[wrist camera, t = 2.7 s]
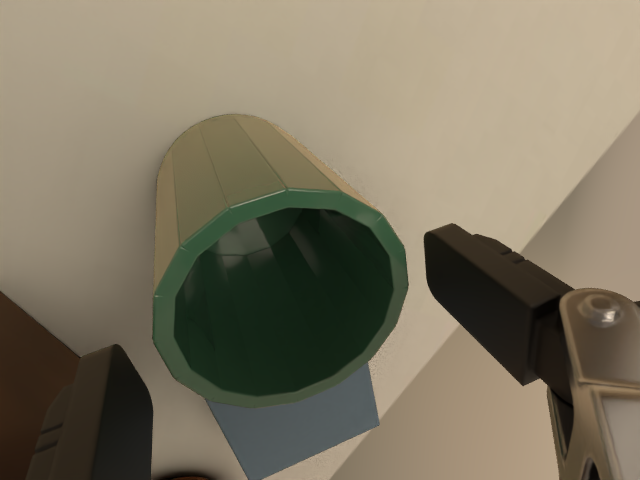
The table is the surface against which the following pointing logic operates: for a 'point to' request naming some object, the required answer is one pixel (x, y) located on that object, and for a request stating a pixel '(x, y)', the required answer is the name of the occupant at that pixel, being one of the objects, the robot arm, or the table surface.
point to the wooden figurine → (190, 478)
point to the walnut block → (27, 385)
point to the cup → (267, 267)
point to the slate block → (297, 425)
